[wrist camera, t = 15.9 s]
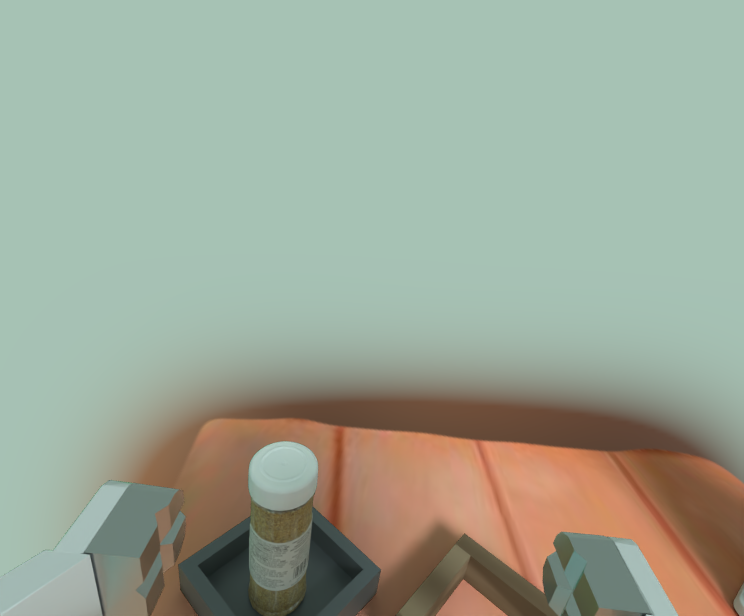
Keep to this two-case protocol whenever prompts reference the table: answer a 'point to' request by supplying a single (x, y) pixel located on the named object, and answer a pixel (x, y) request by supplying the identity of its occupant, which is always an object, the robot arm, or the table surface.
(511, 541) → the table surface
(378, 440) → the table surface
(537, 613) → the socket block
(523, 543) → the table surface
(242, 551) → the tray
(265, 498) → the sprinkles bottle
